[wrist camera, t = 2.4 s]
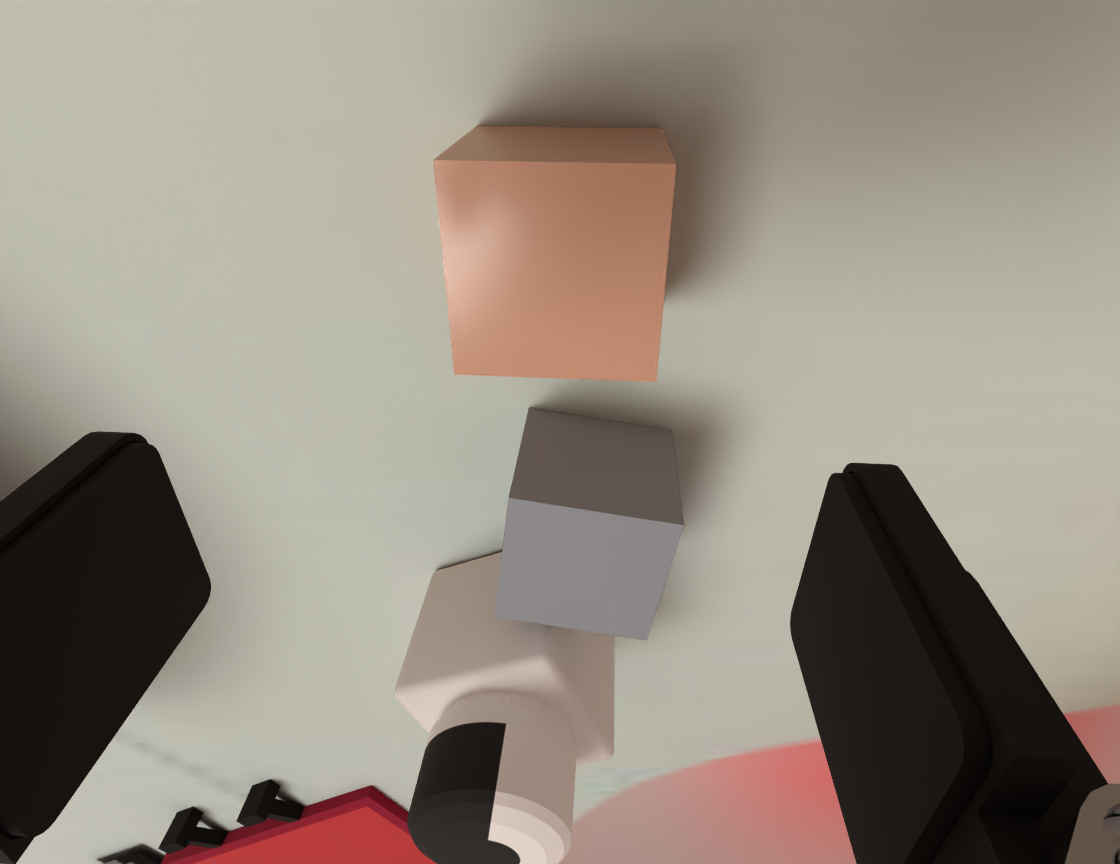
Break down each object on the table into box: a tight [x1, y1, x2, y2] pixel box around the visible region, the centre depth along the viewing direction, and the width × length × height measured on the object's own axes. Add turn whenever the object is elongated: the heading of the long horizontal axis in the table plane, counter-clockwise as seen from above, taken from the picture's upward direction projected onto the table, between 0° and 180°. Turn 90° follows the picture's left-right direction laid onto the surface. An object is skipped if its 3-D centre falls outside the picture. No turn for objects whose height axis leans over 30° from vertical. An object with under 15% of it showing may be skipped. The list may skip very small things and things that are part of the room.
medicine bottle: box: [394, 552, 615, 864], centre depth 28 cm, size 7×7×12 cm
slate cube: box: [494, 408, 684, 640], centre depth 26 cm, size 6×6×6 cm
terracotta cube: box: [433, 126, 677, 382], centre depth 20 cm, size 6×6×6 cm
